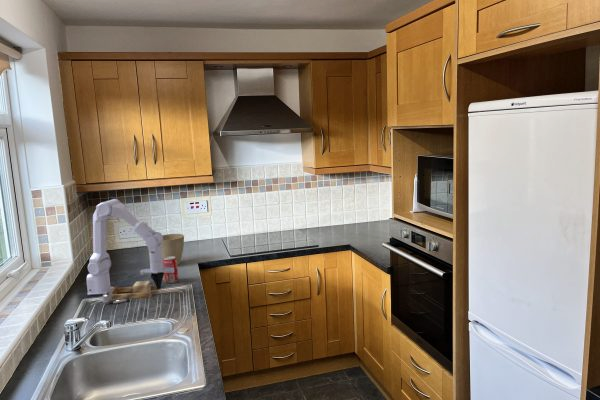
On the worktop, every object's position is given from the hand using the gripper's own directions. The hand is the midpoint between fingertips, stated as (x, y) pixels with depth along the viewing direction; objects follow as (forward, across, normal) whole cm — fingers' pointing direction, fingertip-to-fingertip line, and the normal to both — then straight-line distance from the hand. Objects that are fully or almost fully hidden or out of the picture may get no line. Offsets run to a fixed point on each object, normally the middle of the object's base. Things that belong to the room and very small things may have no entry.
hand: (159, 288), depth 207 cm
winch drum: (+2, -20, -8) cm, 22 cm away
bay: (+2, -12, 0) cm, 12 cm away
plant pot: (+2, -2, +44) cm, 44 cm away
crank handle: (+2, -14, -9) cm, 17 cm away
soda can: (+2, +2, +15) cm, 15 cm away
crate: (+2, -8, 0) cm, 8 cm away
